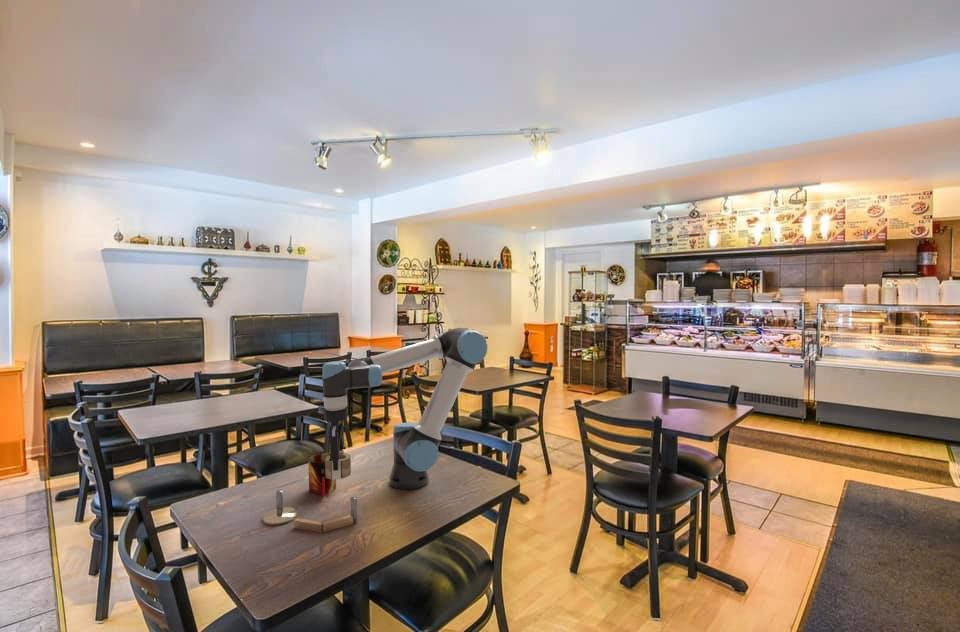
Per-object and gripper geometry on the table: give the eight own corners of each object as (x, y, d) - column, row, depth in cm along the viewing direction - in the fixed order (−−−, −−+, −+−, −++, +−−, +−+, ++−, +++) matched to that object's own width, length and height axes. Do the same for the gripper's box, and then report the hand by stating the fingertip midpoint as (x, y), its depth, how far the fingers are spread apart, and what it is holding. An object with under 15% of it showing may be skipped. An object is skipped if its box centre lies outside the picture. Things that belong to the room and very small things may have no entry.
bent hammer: (357, 520, 153) (357, 496, 153) (355, 529, 147) (355, 504, 147) (295, 525, 150) (294, 500, 150) (290, 534, 145) (289, 509, 144)
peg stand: (299, 509, 161) (298, 483, 161) (292, 524, 151) (291, 496, 151) (268, 511, 160) (267, 485, 159) (259, 526, 150) (258, 498, 149)
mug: (323, 500, 168) (322, 467, 167) (304, 489, 177) (303, 458, 177) (347, 492, 175) (346, 460, 175) (327, 482, 185) (326, 451, 184)
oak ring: (352, 469, 165) (351, 452, 165) (349, 478, 157) (348, 460, 157) (328, 471, 164) (327, 454, 164) (324, 480, 156) (323, 462, 156)
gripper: (329, 401, 169) (332, 463, 170) (318, 416, 148) (321, 487, 150) (350, 399, 170) (353, 461, 171) (342, 415, 149) (345, 485, 151)
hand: (338, 473), depth 161 cm, fingers closed on oak ring, 8 cm apart
